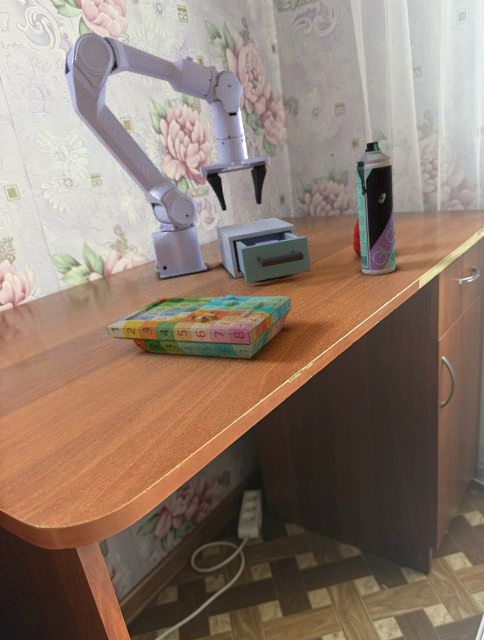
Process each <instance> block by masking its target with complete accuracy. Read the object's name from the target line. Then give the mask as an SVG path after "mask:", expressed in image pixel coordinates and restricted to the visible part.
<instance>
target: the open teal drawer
mask: <svg viewBox="0 0 484 640" xmlns="http://www.w3.org/2000/svg"><path fill="white" fill-rule="evenodd" d="M272 240H278V241H275V242H270V243H264V244H259V245H255V244H256V243H261V242H267V241H272ZM233 244H234V250H235V257H236V263H237V267H238V268H239V269H240V270H241V271H242V272H243V273H244V276H243V277H244V282H245V283H246V284H249V283H254V282H259V281H264V280H268V279H269V280H270V279H274V278H280V277H284V276H290V275H295V274H300V273H304V272H305V273H306V272H310V271H311V263H310V253H309V243H308V236H304V235H303V236H298V235H296V236H295V235H293V234H291V233H288V232H286V231H284V232H278V233H273V234H267V235H262V236H256V237H250V238H245V239H239V240H234V241H233Z"/></svg>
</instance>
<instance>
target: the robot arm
mask: <svg viewBox="0 0 484 640" xmlns="http://www.w3.org/2000/svg"><path fill="white" fill-rule="evenodd" d="M183 57H184V58H183ZM183 57H178V58H177V59H175V60H174V61H170V60H167V59H165V58H163V57H160V56H157V55H155V54H152V53H150V52H147V51H144V50H141V49H139V48H136V47H135V46H132V45H129V44H126V43H124V42H122V41H120V40H118V39H115V38H113V37H111V36H110V37H109V36H104V37H103V36H101V35H100V34H97V33H94V32H85V33H82V34H80V35H79V36H78V37H77V39H76V41H75V42H74V45H73V46H72V47H70V49H69V50H68V51H67V53H66V56H65V63H64V70H63V74H64V77H65V79H66V82H67V86H68V90H69V94H70V99H71V103H72V108H73V111H74V113H75V114H76V116H77V117H78V118H79V119H80V120H81V121H82V122H83V124H84V125H85V126H86V127H87V128H88V129H89V131H90V132H91V133H92V134H93V135H94V136H95V137H96V139H97V140H98V141H99V142H100V143H101V145H102V146H103V147H104V149H106V151H107V152H108V153H109V154H110V155H111V157H112V158H113V159H114V160H115V161H116V162H117V163H118V165H120V167H121V168H122V169H123V170H124V171H125V173H127V175H128V176H129V177H130V179H131V180H132V181H133V182H134V183H135V185H137V187H138V188H139V189H140V190H141V191H142V192H143V195H144V197H145V200H146V202H147V203H148V204H149V206H150V207H151V211H152V213H153V215H154V217H155V220H157V221H158V222H159V223H160V225H159V231H154V232H151V233H150V236H151V239H152V245H153V249H154V254H155V258H156V260H155V266H156V270H158V272H159V277H160V279H167V278H168V279H169V278H171V277H172V278H173V277H176V276H177V277H178V276H183V275H188V274H193V273H199V272H203V271H204V272H205V271H207V270H208V267H207V265H206V264H205V263H204V261H203V258H202V253H201V252H202V251H201V247H200V241H199V237H198V230H197V225H196V222H195V221H196V218H197V215H198V206H197V203H196V201H195V200H194V198H193V197H192V196H190V195H189V194H188V193H187V194H186V193H184V192H183V191H181V190H180V189H179V188H178V186H177V185H176V184H175V183H173V182H172V181H170V179H168V178H167V177H166V176H165V175H164V174H163V173H162V172H161V171H160V170H159V168H158V166H157V165H155V163H154V162H153V161H152V159H151V158H150V157H149V156H148V154H147V153H146V152H145V151H144V149H142V147H141V146H140V144H139V143H138V142H137V141H136V139H134V138H133V136H132V135H131V134H130V132H129V131H128V130H127V128H126V127H125V126H124V125H123V124H122V123H121V121H120V120H119V119H118V118H117V116H116V115H115V114H114V113H113V112H112V110H111V108H109V107H108V105H107V104H106V95H107V94H106V93H107V83H108V80H109V77H111V76H114V75H117V74H120V73H123V72H130V73H133V74H137V75H141V76H145V77H149V78H152V79H157V80H161V81H163V82H168V84H169V86H170V87H171V89H172V90H173V91H174V92H177V93H180V94H183V95H185V96H186V95H187V96H190V97H194V98H196V99H200V100H203V101H205V102H206V103H207V104H208V105H209V106H210V110H211V115H212V121H213V127H214V133H215V138H216V139H215V140H216V145H217V150H218V156H219V162H220V163H215V164H210V165H204V166H200V167H199V172H200V177H201V178H206V179H205V180H206V181H207V183H208V184H209V186H210V187H211V189H212V190H213V192H214V194H215V195H216V198H217V200H218V202H219V205H220V208H221V211H223V212H225V211H227V204H226V200H225V196H224V195H225V194H224V190H223V183H222V181H223V180H222V177H221V176H220V175H222V174H227V173H233V172H238V171H245V170H250V175H251V178H252V183H253V187H254V188H253V189H254V198H255V204H257V205H263V204H262V202H263V201H262V199H263V198H262V197H263V196H262V195H263V194H262V193H263V187H264V183H265V179H266V176H267V173H268V168H267V167H269V166H271V159H270V155H263V156H258V157H257V156H256V157H250V158H249V157H248V151H247V144H246V137H245V130H244V125H243V119H242V118H243V117H242V111H241V104H240V102H241V97H242V95H243V91H244V85H243V84H242V83H241V82H240V79H239V77H238V76H237V75H236V74H235V72H233V71H232V70H229V69H224V70H223V69H222V70H221V71H218V70H217V66H215V65H209V66H207V65H204V64H201V63H199V62H195V61H194V58H193V57H192V56H189V55H186V56H183ZM238 166H242V167H238ZM232 167H237V168H232ZM228 168H231V169H228Z"/></svg>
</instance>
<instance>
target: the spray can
mask: <svg viewBox="0 0 484 640" xmlns="http://www.w3.org/2000/svg"><path fill="white" fill-rule="evenodd" d="M391 159H392V157H391V156H389V155H387V154H386V153H384V152H383V149H381V147H379V141H372V142H367V143H366V149H364V151H363V155H362V156H360V157H359V159H358V160H356V161H355V164H356V165H355V181H356V196H357V211H358V213H357V214H358V217H359V231H360V247H361V257H360V261H361V273H362V274H365V275H384V274H389V273H391V272H394V271H395V270H396V247H395V245H396V242H395V243H394V239H395V236H394V231H395V220H394V219H395V217H394V190H393V162H392V161H391Z"/></svg>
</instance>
